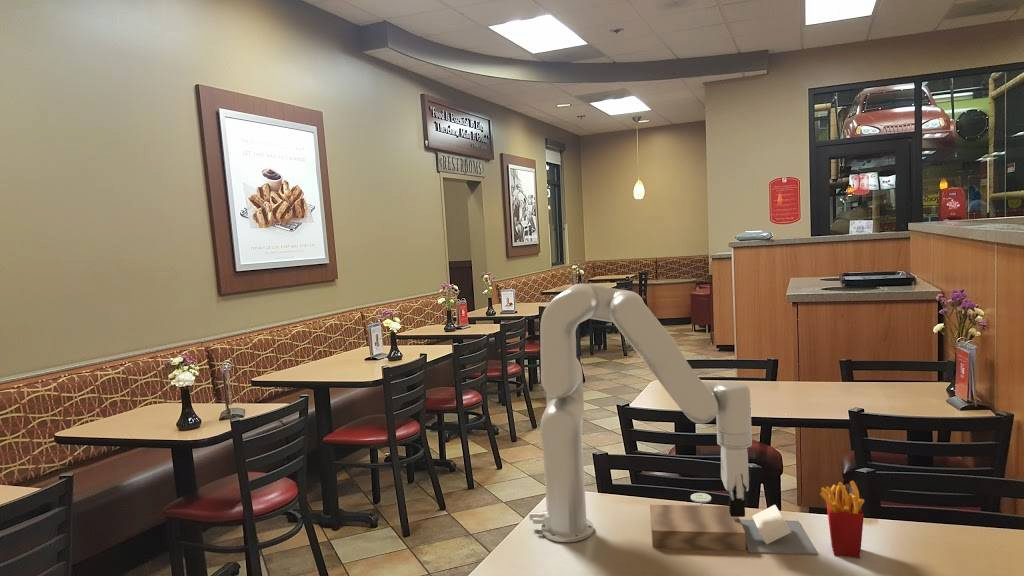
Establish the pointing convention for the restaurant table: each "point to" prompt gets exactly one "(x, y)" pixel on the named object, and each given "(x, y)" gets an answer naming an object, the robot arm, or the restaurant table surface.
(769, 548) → the mat
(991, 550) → the restaurant table surface
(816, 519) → the restaurant table surface
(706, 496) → the sign
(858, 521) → the french fries
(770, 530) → the cream rectangular block
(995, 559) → the restaurant table surface
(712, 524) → the board
